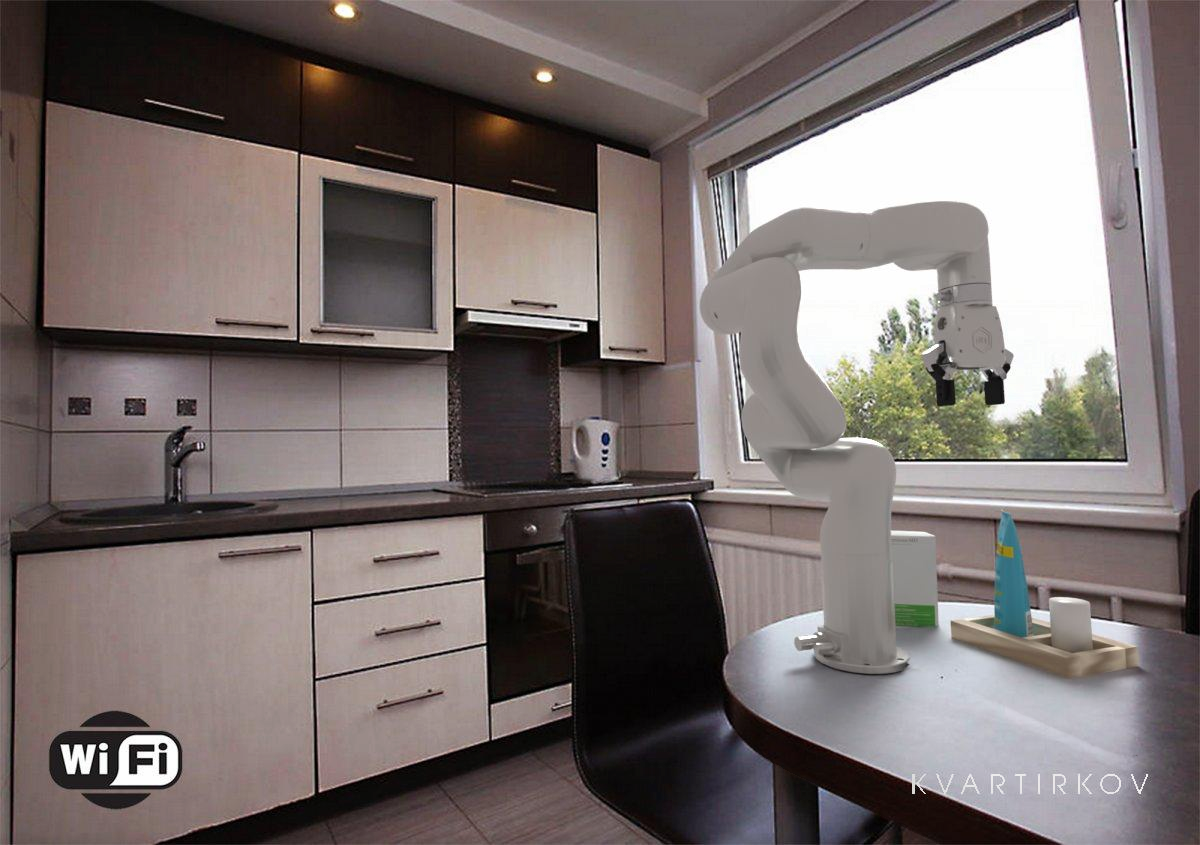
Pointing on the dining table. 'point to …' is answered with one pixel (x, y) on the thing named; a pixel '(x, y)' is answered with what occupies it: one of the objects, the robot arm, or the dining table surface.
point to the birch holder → (1046, 648)
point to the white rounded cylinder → (1070, 624)
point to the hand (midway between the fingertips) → (970, 405)
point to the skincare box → (914, 579)
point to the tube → (1011, 583)
